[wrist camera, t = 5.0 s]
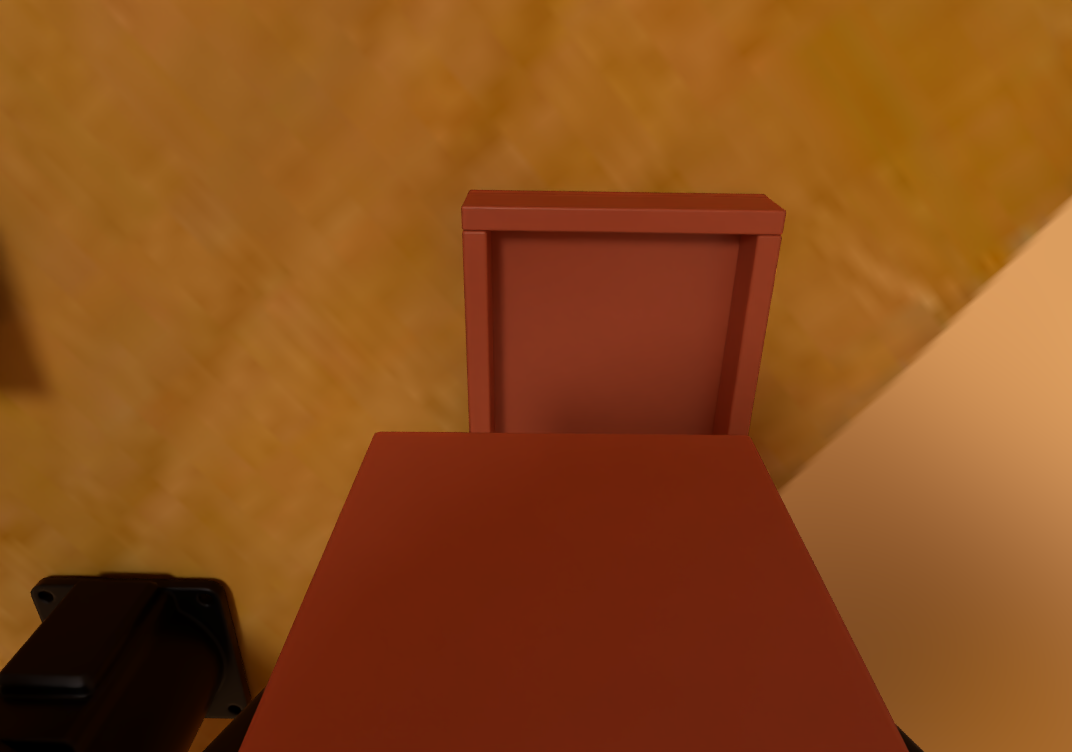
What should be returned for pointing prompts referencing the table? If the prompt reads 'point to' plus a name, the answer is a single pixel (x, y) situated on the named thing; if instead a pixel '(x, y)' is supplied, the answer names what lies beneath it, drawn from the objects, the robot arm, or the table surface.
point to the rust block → (567, 607)
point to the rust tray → (616, 310)
